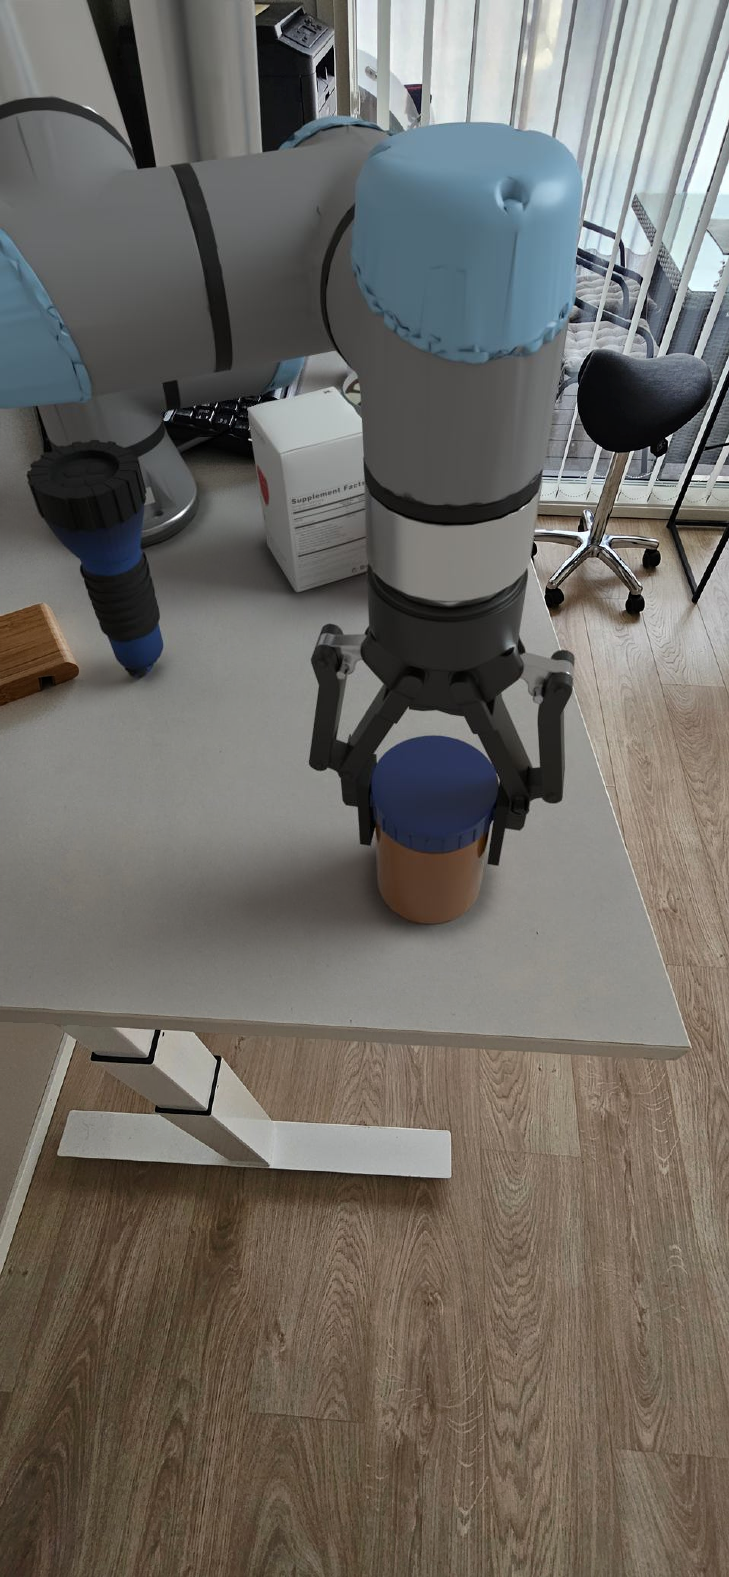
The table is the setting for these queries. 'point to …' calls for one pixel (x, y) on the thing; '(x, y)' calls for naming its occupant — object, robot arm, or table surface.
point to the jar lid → (434, 793)
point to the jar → (429, 879)
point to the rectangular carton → (311, 485)
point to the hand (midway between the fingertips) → (431, 838)
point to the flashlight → (104, 540)
